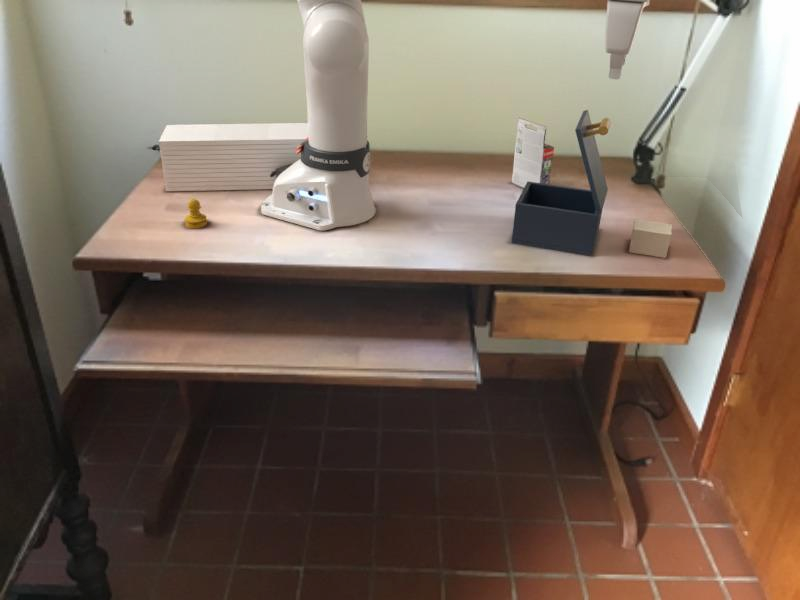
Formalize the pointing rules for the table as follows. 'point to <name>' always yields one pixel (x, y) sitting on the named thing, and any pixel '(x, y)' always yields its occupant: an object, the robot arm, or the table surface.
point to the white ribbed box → (228, 155)
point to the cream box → (650, 238)
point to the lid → (593, 156)
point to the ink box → (531, 155)
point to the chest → (556, 218)
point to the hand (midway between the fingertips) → (616, 71)
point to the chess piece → (195, 215)
